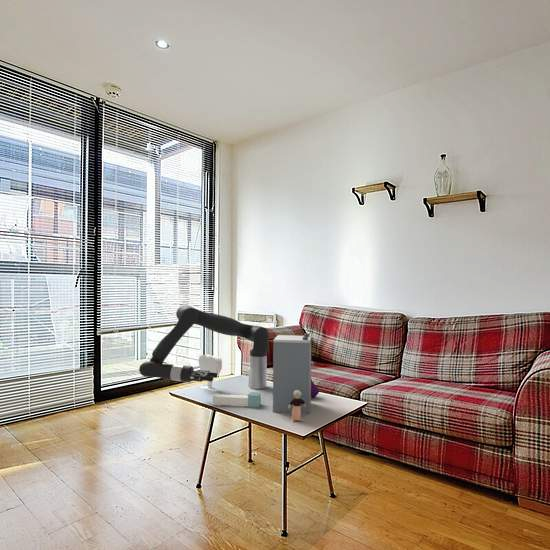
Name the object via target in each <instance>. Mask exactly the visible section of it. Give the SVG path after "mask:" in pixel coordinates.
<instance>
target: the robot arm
mask: <svg viewBox="0 0 550 550" xmlns="http://www.w3.org/2000/svg"><path fill="white" fill-rule="evenodd" d="M175 314H176V319H177V322H176V324H175V325H174V327H173V328H172V329H171V331H170V332H168V333H167V334H166V335H165V336H164V337H163V338H162V339H161V340H160V341H159V342H158V344H157V345H156V347H155V348H154V350H153V351H152V353H151V358H150V360H149V361H144V362H143V363H141V364H140V366H139V367H138V371H139V373H140V375H141V376H142V377H146V378H159V379H164V380H170V381H171V380H172V381H176V382H183V383H191V382H192V381H194V382H208V381H212V382H213V381H214V379H215V378H216V379H217V378H218V376H219V374H217V373H212V372H210V371H206V370H200V369H197V370H195V369H194V367H193V366H191V365H184V364H172V363H171V364H169V363H164V361H165V360H166V359H167V357H168V356H169V355H170V353H171V352H172V350H174V348H175V346H176V344H178V342H179V341H180V340H181V339H182V337H183V336H185V334H186V333H187V332H188V331H189V330H190V329H191V328H192V327H193V326H194V325H196V326H197V325H198V326H201V327H203V328H206V329H207V330H210V331H212V332H215V333H218V334H220V335H224V336H225V335H226V336H230V337H231V336H232V337H233V336H234V337H240V338H242V339H246V340H248V341H250V342H253V344H252V345H253V346H252V349H251V350H250V351H249V368H248V387H249V388H251V389H254V390H261V389H266V388H267V383H268V382H267V380H268V379H267V377H268V376H267V373H268V372H267V366H268V365H267V361H268V359H267V358H268V357H267V355H268V354H267V353H268V351H269V340H270V339H269V338H270V336H269V335H270V334H269V330H268V329H267V328H266V327H263V326H260V325H253V324H246V323H242V322H241V321H238V320H236V319H235V318H232V317H229V316H225V315H221V314H217V313H213V312H206V311H203V310H200V309H197V308H195V307H193V306H191V305H181V306H180V307H178V308H177V310H176V312H175ZM206 373H207V375H206Z"/></svg>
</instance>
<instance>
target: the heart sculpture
mask: <svg viewBox="0 0 550 550" xmlns="http://www.w3.org/2000/svg"><path fill="white" fill-rule="evenodd" d="M198 366H199V370H206V371H210V372H212V373H217V374H218V375H219V374H221V370H222V367H223V360H222V358H221V357H220V356H217V355H212V354H202V355H199V357H198ZM206 375H207V373H206ZM200 387H201V388H200V389H202V388H206V389H209V390H212V391H215V390H216V391H217V392H219V391H218V390H220V389H218V388H215V387H213V381H207V385H205V387H203V386H200ZM212 391H211V392H212Z"/></svg>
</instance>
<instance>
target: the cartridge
mask: <svg viewBox="0 0 550 550" xmlns="http://www.w3.org/2000/svg"><path fill="white" fill-rule="evenodd" d="M261 393H262V392H259V391H256V392H255V391H249V393H248V395H245V394H244V395H240V394H217V393H215V394H214V395H213V396H212V406H221V405H231V406H230V407H244V406H248V408H256V407H257V409H259V408H260V406H261V403H262V402H261V400H262V399H261V398H262V396H261Z"/></svg>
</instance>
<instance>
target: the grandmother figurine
mask: <svg viewBox="0 0 550 550" xmlns="http://www.w3.org/2000/svg"><path fill="white" fill-rule="evenodd" d="M300 396H301V392H300V391H298V390H295V391H294V397H295V398H294V399H293V400H292V401H291V402H290V404H289V406H288V408H289V409H290V407H291V405H293V410H292V413H291V420H290V421H296V422H302V421H301V420H302V419H301V418H302V413H301V404H303V405H304V407H306V405H305V402H304V400H302V399H300Z"/></svg>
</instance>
